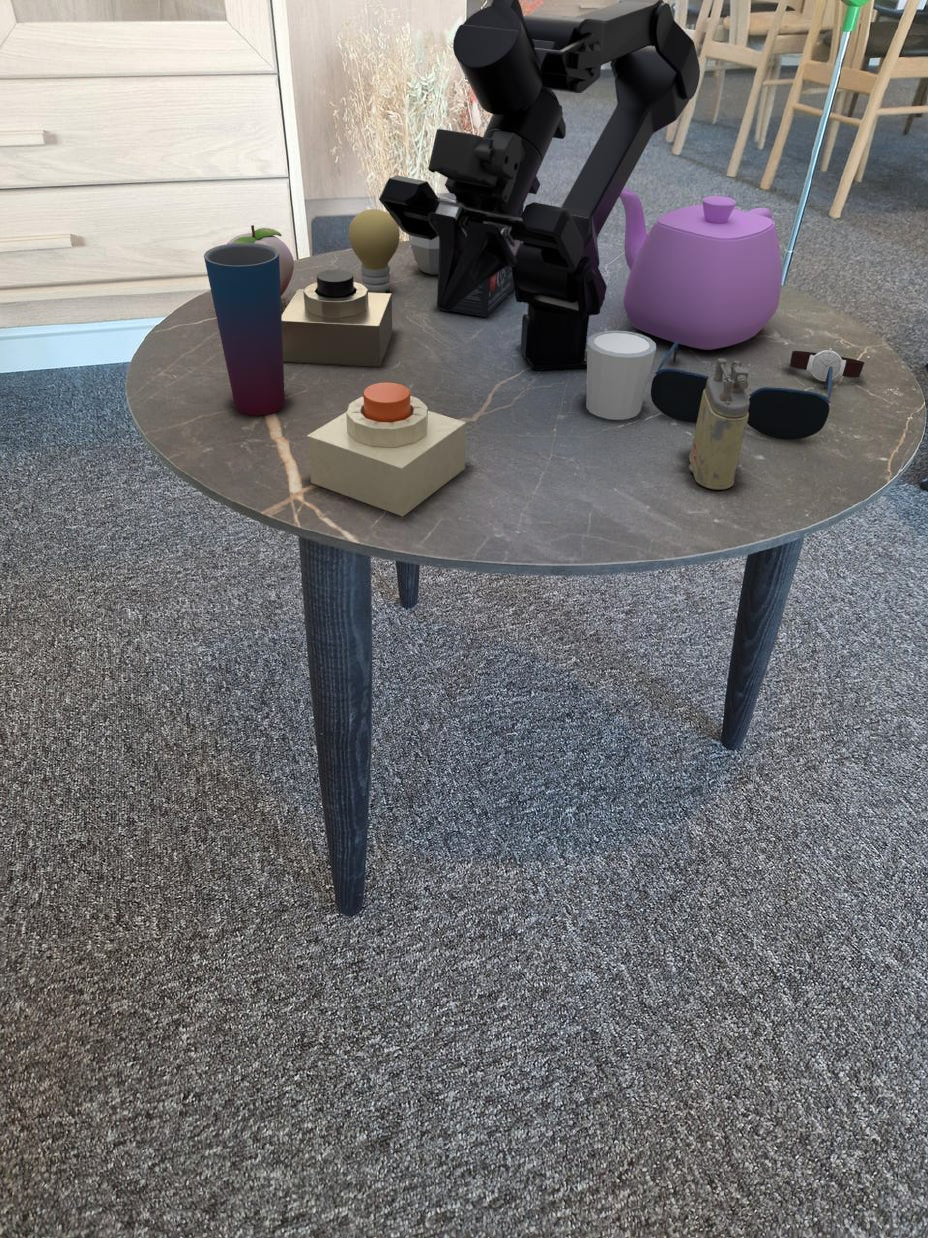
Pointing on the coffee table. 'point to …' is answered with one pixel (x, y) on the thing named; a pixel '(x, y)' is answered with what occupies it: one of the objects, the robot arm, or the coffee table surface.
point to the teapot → (701, 272)
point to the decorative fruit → (268, 239)
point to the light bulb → (374, 247)
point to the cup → (249, 322)
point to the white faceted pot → (426, 253)
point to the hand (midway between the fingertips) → (442, 308)
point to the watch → (826, 364)
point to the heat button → (335, 283)
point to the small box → (486, 292)
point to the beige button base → (337, 327)
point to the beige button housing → (387, 456)
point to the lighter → (720, 427)
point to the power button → (386, 402)
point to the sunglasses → (767, 410)
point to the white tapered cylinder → (618, 373)
